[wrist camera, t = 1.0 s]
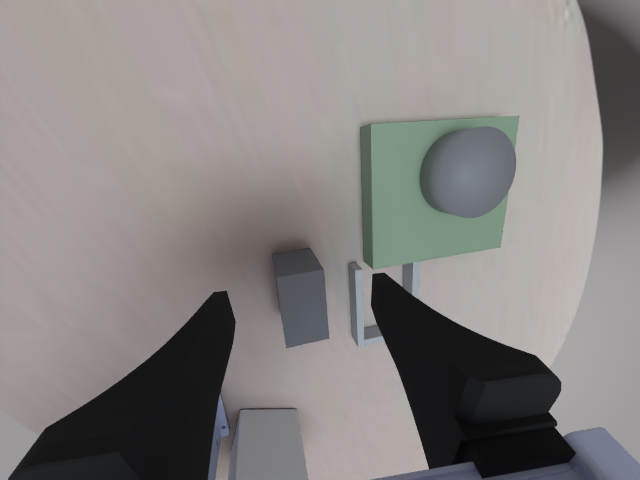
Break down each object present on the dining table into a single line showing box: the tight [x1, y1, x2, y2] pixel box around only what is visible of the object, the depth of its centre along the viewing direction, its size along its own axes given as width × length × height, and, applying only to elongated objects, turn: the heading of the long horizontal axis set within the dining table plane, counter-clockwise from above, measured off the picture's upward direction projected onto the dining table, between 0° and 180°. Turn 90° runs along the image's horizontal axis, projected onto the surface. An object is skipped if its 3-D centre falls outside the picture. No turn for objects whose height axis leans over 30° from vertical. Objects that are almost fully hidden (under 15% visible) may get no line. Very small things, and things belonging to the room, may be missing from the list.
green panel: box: [349, 116, 520, 347], centre depth 27 cm, size 24×18×6 cm
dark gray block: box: [272, 248, 329, 348], centre depth 25 cm, size 7×4×6 cm, turn 5°
